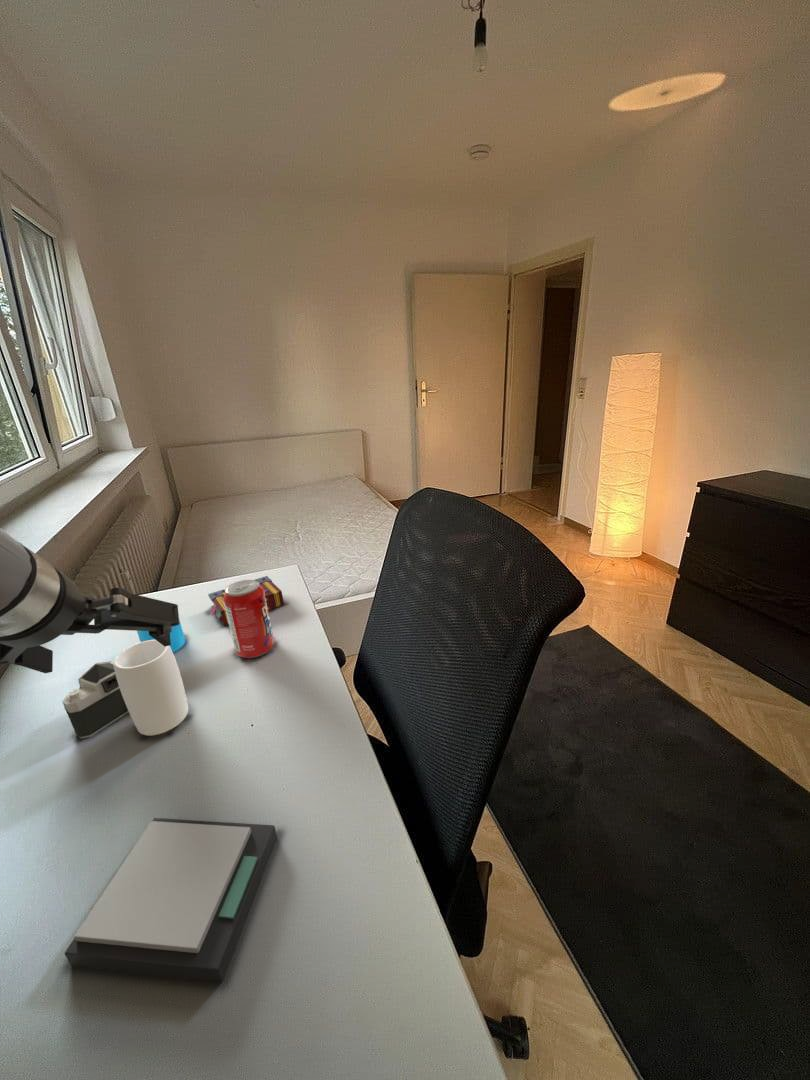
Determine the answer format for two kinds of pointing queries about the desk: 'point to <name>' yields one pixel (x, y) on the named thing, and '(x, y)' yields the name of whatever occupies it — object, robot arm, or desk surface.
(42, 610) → the robot arm
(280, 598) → the decorative book
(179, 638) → the mug
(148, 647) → the cup
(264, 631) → the soda can
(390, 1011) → the desk surface
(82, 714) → the camera
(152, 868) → the scale
